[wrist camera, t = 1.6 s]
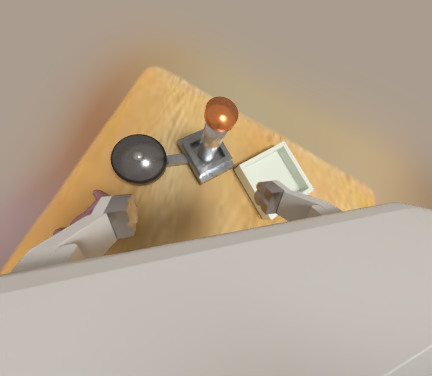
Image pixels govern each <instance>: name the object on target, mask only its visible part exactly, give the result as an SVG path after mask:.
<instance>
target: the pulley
mask: <svg viewBox="0 0 432 376" xmlns="http://www.w3.org/2000/svg"><path fill="white" fill-rule="evenodd" d="M111 164H112V167H113V169H114V171H115V172H116V173H117V175H118V176H120V177H121V178H122V179H124V180H126V181H127V182H129V183H132V184H136V185H146V184H150V183H153V182H155V181H156V180H158V179H159V178H160V177H161V176H162V175H163V174H164V172H165V170H166V167H167V156H166V153H165V150H164V148H163V146H162V145H161V144H160V143H159V142H158V141H157V140H156V139H154V138H152V137H150V136H147V135H142V134H136V135H130V136H127V137H125V138H123V139H122V140H120V141H119V142H118V143H117V144H116V145H115V147H114V149H113V151H112V154H111Z"/></svg>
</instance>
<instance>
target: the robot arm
mask: <svg viewBox="0 0 432 376" xmlns="http://www.w3.org/2000/svg"><path fill="white" fill-rule="evenodd" d="M256 188H257V191H256V192H255V194H254V200H255V202H256V204H257V205H259V206H261V210H262V211H263V212H264V213H265V215H267V214H275V213H276V214H277V215H279V216H281V217H282V218H284V219H286V220H287V221H289V222H283V223H278V224H273V225H267V226H262V227H257V228H251V229H246V230H241V231H235V232H230V233H224V234H219V235H214V236H208V237H203V238H197V239H192V240H187V241H181V242H176V243H170V244H165V245H160V246H154V247H149V248H144V249H138V250H133V251H127V252H122V253H116V254H111V255H106V256H103V255H104V254H105V253H106V252H107V251H108V250H109V249H110V247H111V246H112V245H113V244H114V243H115V242H116V241H117V239H122V238H127V237H132V236H135V231H136V223H137V222H138V209H137V206H136V205H134V203H135V198H134V195H133V194H128V195H115V196H104V197H101V198H100V200H99V202H98V203H97V205H96V207H95V208H94V210H93V212H92V213H91V215H87V216H85V217H84V218H82V219H80V220H79V221H77V222H75V223H74V224H72V225H70V226H69V227H67V228H65V229H64V230H62V231H60V232H59V233H57V234H55V235H54V236H52V237H50V238H49V239H47V240H45V241H44V242H42V243H40V244H39V245H37V246H35V247H33V248H32V249H30V250H29V251H28V252H27V253H26V255H25V256H24V257H23V258H22V259H21V260H20V262H19V263H18V264H17V265H16V266H15V267H14V269H13V270H12V271H11V272H10V273H9V274H3V275H0V376H432V210H430V209H427V208H422V207H418V206H414V205H409V204H405V203H398V202H390V203H385V204H380V205H375V206H370V207H364V208H359V209H353V210H348V211H341V210H340V209H338V208H337V207H335V206H334V205H332V204H331V203H329V202H326V201H323V200H321V199H318V198H315V197H312V196H309V195H306V194H303V193H300V192H297V191H292V190H290V189H289V188H288V187H286V186H285V185H284V184H282V183H281V182H280V181H278V180H272V181H265V182H258V183H257V185H256Z"/></svg>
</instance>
